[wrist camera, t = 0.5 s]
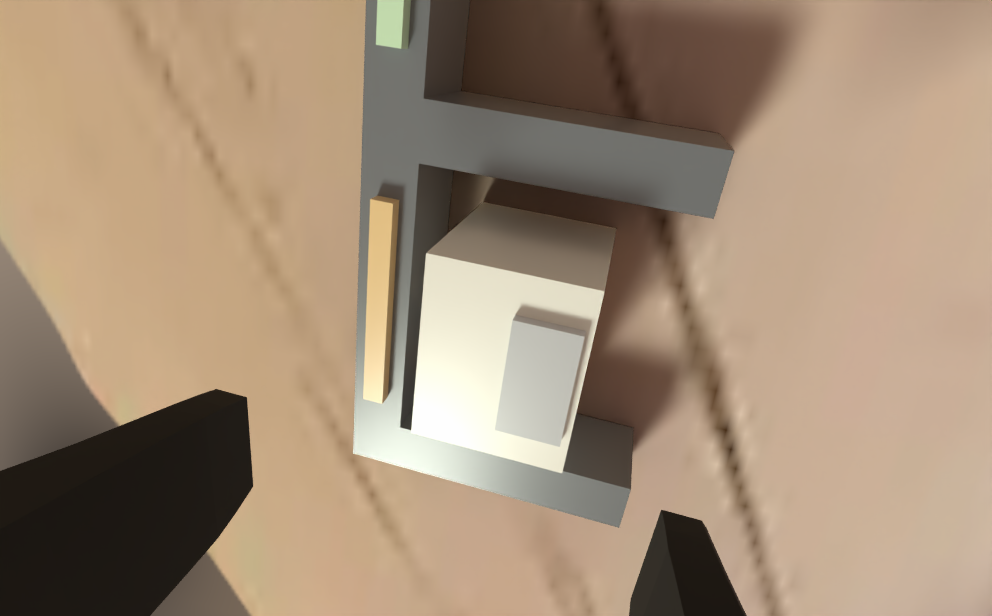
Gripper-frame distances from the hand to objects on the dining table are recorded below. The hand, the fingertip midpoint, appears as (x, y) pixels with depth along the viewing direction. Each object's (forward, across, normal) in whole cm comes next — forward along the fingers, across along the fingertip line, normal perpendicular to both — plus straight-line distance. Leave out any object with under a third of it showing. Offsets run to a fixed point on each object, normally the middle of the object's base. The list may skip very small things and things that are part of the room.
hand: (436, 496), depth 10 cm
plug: (+9, 0, 0) cm, 9 cm away
